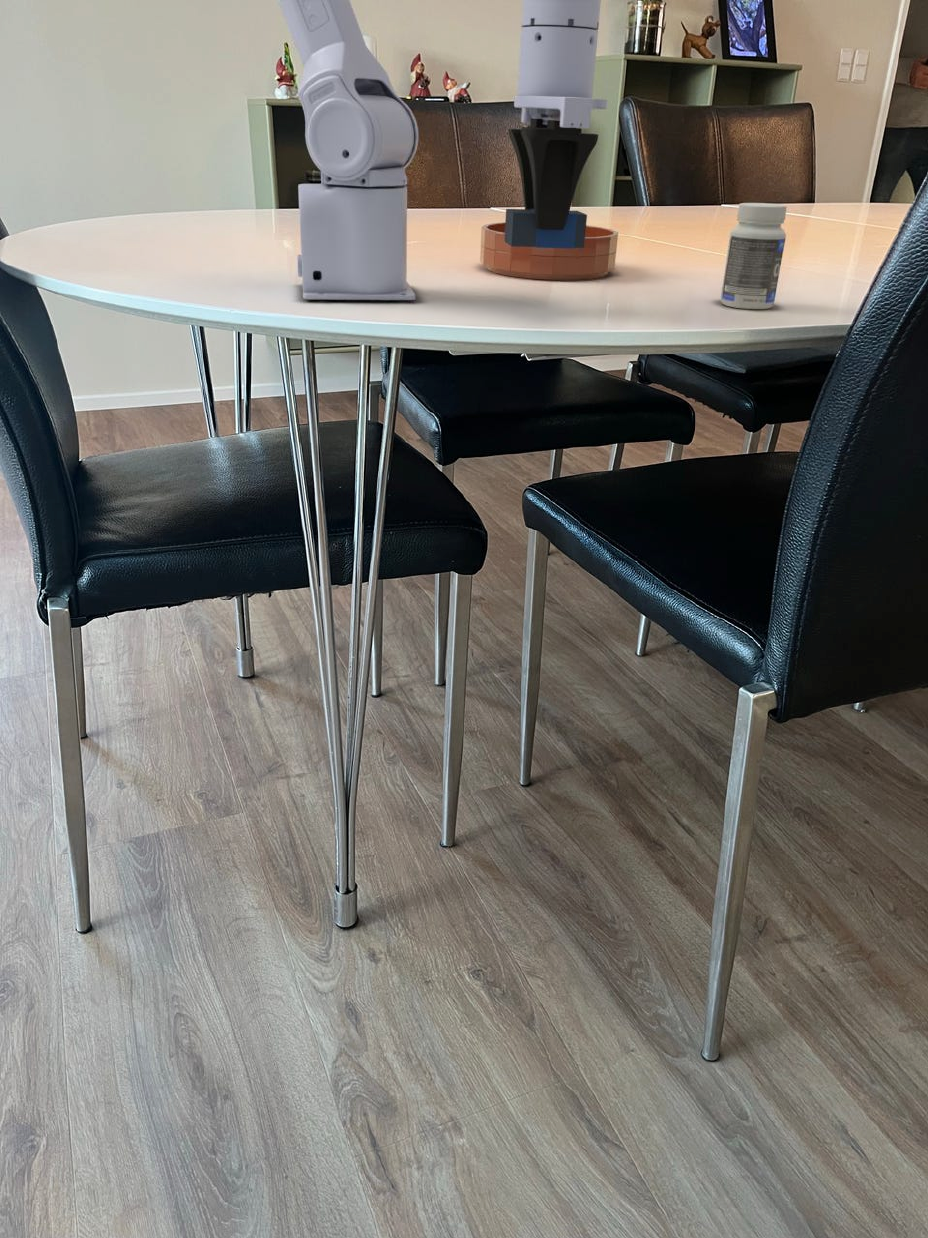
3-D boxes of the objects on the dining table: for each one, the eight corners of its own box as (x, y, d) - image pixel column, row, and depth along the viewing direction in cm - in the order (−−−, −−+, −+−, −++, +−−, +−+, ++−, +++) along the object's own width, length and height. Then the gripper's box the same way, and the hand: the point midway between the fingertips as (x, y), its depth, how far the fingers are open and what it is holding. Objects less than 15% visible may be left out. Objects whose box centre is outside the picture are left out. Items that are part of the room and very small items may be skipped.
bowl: (493, 280, 94) (495, 236, 92) (470, 259, 106) (472, 220, 104) (631, 281, 96) (635, 239, 94) (593, 261, 108) (596, 222, 106)
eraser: (511, 247, 76) (513, 211, 75) (504, 241, 79) (505, 207, 78) (584, 248, 77) (587, 213, 76) (574, 243, 80) (577, 209, 79)
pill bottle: (779, 311, 84) (798, 207, 80) (726, 308, 84) (742, 205, 80) (765, 301, 89) (783, 202, 85) (714, 299, 89) (729, 200, 85)
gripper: (641, 26, 65) (618, 239, 72) (586, 37, 78) (570, 217, 84) (540, 20, 64) (526, 237, 71) (501, 32, 77) (492, 215, 83)
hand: (545, 226), depth 77 cm, fingers closed on eraser, 3 cm apart
